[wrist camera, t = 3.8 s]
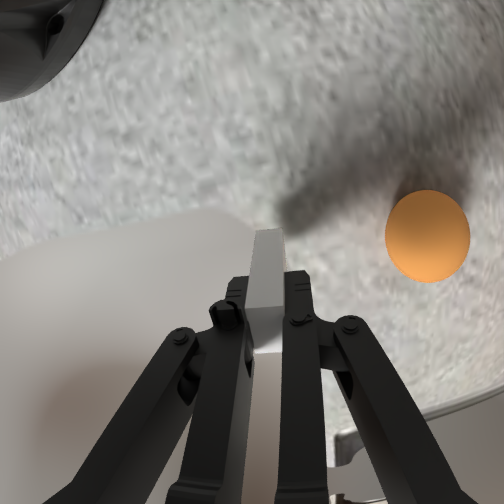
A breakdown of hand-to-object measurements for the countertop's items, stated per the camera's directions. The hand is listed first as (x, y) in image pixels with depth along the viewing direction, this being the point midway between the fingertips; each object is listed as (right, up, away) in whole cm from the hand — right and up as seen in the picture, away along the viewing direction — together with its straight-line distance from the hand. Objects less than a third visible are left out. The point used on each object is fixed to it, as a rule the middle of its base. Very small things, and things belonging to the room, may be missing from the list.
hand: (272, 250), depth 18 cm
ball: (+9, +1, -2) cm, 10 cm away
